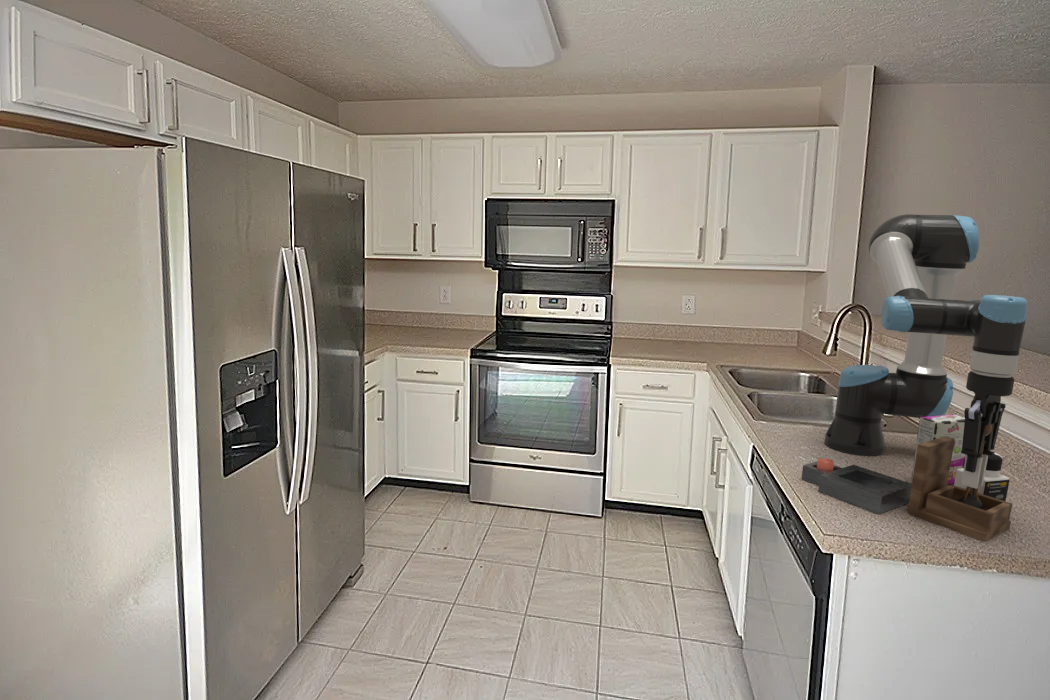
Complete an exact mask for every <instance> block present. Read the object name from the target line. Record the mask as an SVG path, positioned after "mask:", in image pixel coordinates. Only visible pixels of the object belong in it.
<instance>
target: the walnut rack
mask: <svg viewBox="0 0 1050 700" xmlns="http://www.w3.org/2000/svg"><path fill="white" fill-rule="evenodd" d="M954 441H955V439H954V438H950V437H946V436H944V437H941V438H937V439H934V440H931V441H927V442H924V443H921V444H918V448H917V455H916V461H915V467H914V474H913V480H912V479H911V483H912V486H911V493H910V499H909V503H908V507H907V511H906V514H907V513H908V515H910V516H913V517H916V518H918V517H919V519H922V520H924V521H927V522H929V521H930V523H933V524H934V525H935V524H936V525H938V526H940V525H941V526H940V527H943V528H947V529H948V528H949V530H951V531H954V532H957V533H959V532H960V533H959V534H963V535H965V536H969V537H971V538H973V539H976V540H979V541H981V542H986V541H988V540H990V539H992V538H995V537H996V536H998V535H1000V534H1001V533H1003V532H1005V531H1007V530H1009V529H1010V528H1011V524H1012V523H1011V522H1012V521H1011V520H1010V519H1011V514H1012V508H1013V503H1011V502H1009V501H1007V500H1006V501H1002V500H999V499H996V498H993V497H990V496H986V495H983V494H980V493H978V498H979V499H980V501H981V502H982V504H983V507H984V510H983V509H980V508H976V507H973V506H970V505H967V504H964V503H961V502H958V501H957V500H958V499H959V498H960V497H961V496H963V495H964V494H965V491H966V489H964V488H961V487H958V486H954V485H947V483H948V477H949V471H950V465H951V459H952V453H953V447H954ZM969 493H970V490H969ZM969 493H968V494H969ZM974 495H975V493H974Z"/></svg>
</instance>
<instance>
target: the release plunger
mask: <svg viewBox="0 0 1050 700" xmlns="http://www.w3.org/2000/svg"><path fill="white" fill-rule="evenodd" d="M834 465H835V461H834V460H833V459H830V458H826V457H821V458H820V457H819V458H817V468H818V469H821V470H824V471H827V472H830V471H833V468H834Z"/></svg>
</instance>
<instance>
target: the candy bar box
mask: <svg viewBox="0 0 1050 700" xmlns="http://www.w3.org/2000/svg"><path fill="white" fill-rule="evenodd" d="M964 423H965V416H961V415H959V414H944V415H941V416H928V417H920V419H919V423H918V429H917V438H916V444H915V445H916V446H915V451H914V459H913V467H912V472H911V473H912V474H911V481H912V480H913V474H914V467H915V461H916V455H917V448H918V444H921V443H924V442H927V441H931V440H934V439H937V438H941V437H944V436H946V437H950V438H954V439H955V441H954V447H953V453H952V459H951V465H950V471H949V477H948V483H947V486H948V485H954V483H955V477H956V471H957V469H961V468H964V464H965V459H966V454H962V453H961V451H962V443H963V433H964Z"/></svg>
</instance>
